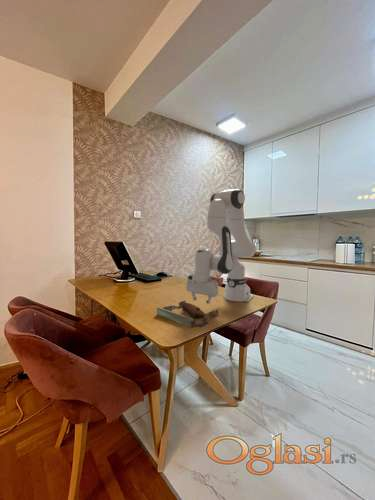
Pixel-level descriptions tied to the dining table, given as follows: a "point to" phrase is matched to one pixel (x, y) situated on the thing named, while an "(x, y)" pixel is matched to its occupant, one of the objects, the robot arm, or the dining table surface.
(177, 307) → the mats
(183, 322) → the trap lane
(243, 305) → the dining table surface
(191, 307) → the brown oblong lump
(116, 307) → the dining table surface
